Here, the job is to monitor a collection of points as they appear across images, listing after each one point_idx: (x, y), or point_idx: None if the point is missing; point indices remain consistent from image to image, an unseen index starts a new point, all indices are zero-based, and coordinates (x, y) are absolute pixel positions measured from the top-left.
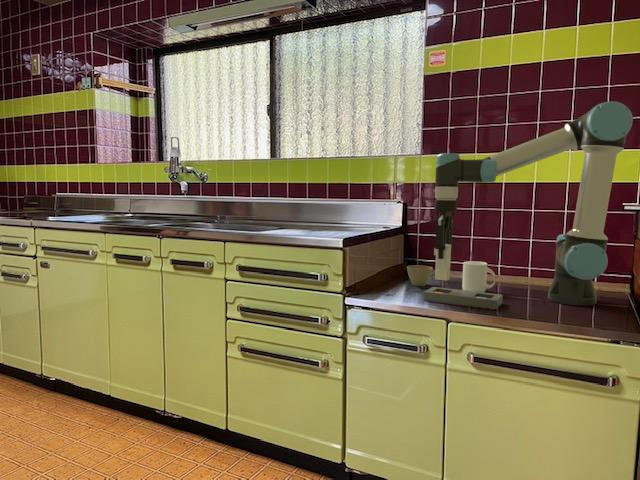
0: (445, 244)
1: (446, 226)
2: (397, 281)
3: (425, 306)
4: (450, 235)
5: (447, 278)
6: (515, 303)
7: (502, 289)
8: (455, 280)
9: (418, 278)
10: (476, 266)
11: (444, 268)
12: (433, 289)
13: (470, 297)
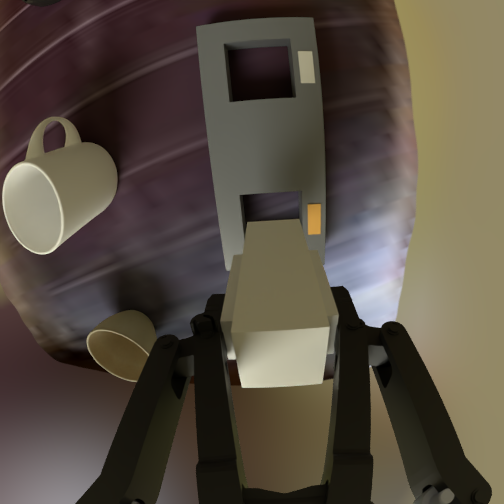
0: (341, 344)
1: (366, 483)
2: None
3: (385, 221)
4: (161, 400)
5: (284, 222)
6: (175, 9)
7: (30, 127)
8: (33, 267)
9: (153, 335)
10: (59, 184)
11: (317, 251)
12: None
13: (321, 103)
